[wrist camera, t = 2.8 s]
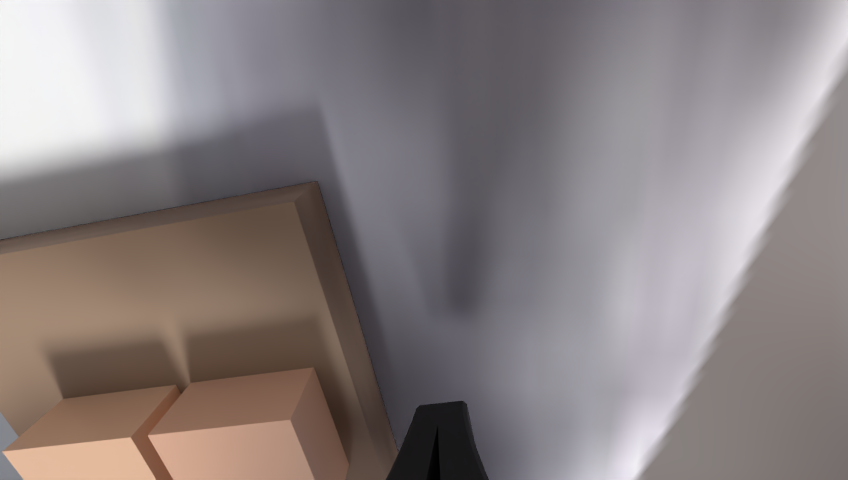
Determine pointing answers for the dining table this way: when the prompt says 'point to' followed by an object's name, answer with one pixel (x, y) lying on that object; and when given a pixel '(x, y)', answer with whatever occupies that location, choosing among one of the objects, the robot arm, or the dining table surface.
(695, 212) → the dining table surface
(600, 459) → the dining table surface
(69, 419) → the tile
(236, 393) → the tile
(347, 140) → the dining table surface
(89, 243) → the board
